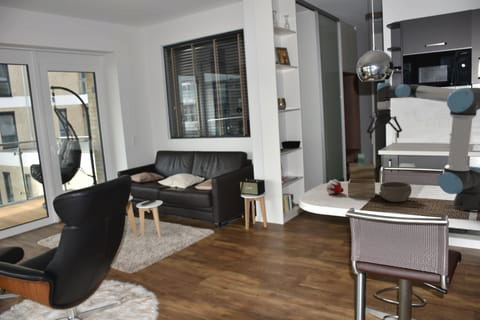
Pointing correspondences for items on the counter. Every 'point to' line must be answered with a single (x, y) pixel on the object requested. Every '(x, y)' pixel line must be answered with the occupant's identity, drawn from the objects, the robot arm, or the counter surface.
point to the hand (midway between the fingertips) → (384, 143)
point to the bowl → (395, 191)
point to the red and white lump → (334, 187)
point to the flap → (361, 169)
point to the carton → (361, 188)
